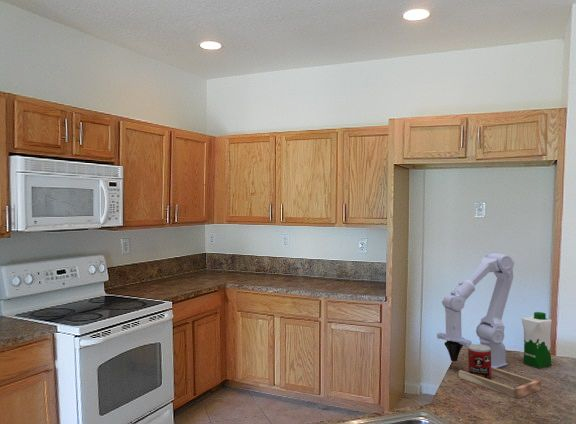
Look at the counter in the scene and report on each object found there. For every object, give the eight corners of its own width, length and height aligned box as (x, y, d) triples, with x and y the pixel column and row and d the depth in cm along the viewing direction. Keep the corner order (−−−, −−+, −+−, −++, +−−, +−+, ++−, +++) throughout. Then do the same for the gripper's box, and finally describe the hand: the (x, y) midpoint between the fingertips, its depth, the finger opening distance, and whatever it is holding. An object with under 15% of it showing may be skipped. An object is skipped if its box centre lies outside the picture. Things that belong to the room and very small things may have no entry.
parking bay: (481, 370, 173) (481, 362, 173) (541, 389, 154) (541, 380, 154) (458, 377, 166) (458, 369, 166) (518, 398, 147) (517, 389, 147)
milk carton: (555, 366, 176) (554, 314, 176) (539, 369, 173) (538, 317, 173) (534, 359, 184) (533, 310, 184) (519, 363, 181) (518, 312, 181)
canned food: (467, 379, 164) (466, 348, 164) (469, 372, 172) (469, 343, 172) (490, 382, 161) (490, 351, 161) (492, 375, 168) (491, 345, 168)
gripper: (431, 323, 180) (432, 357, 180) (462, 331, 168) (463, 368, 168) (443, 321, 184) (444, 354, 184) (474, 328, 171) (475, 364, 171)
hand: (454, 360), depth 176 cm, fingers closed
